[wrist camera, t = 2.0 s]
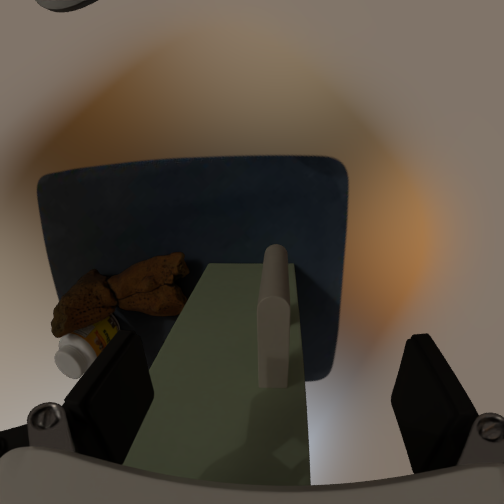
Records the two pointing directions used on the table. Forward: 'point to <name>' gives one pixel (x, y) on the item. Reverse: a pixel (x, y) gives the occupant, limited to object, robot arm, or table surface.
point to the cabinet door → (231, 382)
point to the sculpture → (123, 293)
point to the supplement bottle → (84, 346)
